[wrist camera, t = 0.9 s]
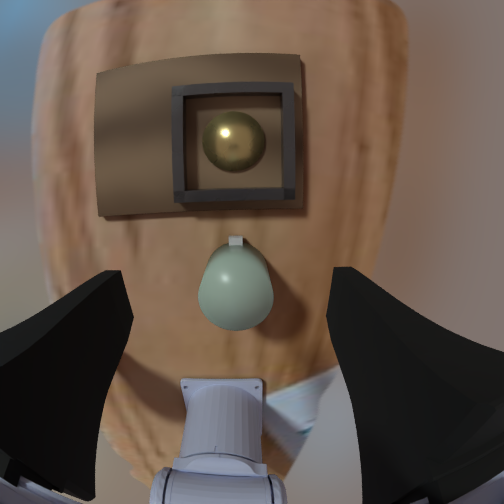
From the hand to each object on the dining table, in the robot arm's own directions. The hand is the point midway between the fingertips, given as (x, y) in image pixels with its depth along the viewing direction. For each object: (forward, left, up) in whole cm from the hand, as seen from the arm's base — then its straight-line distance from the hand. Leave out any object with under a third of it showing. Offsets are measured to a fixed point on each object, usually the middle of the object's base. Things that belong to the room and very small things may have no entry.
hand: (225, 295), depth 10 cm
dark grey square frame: (+6, 0, -13) cm, 14 cm away
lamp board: (+7, +3, -13) cm, 15 cm away
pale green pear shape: (-4, 0, -13) cm, 14 cm away
